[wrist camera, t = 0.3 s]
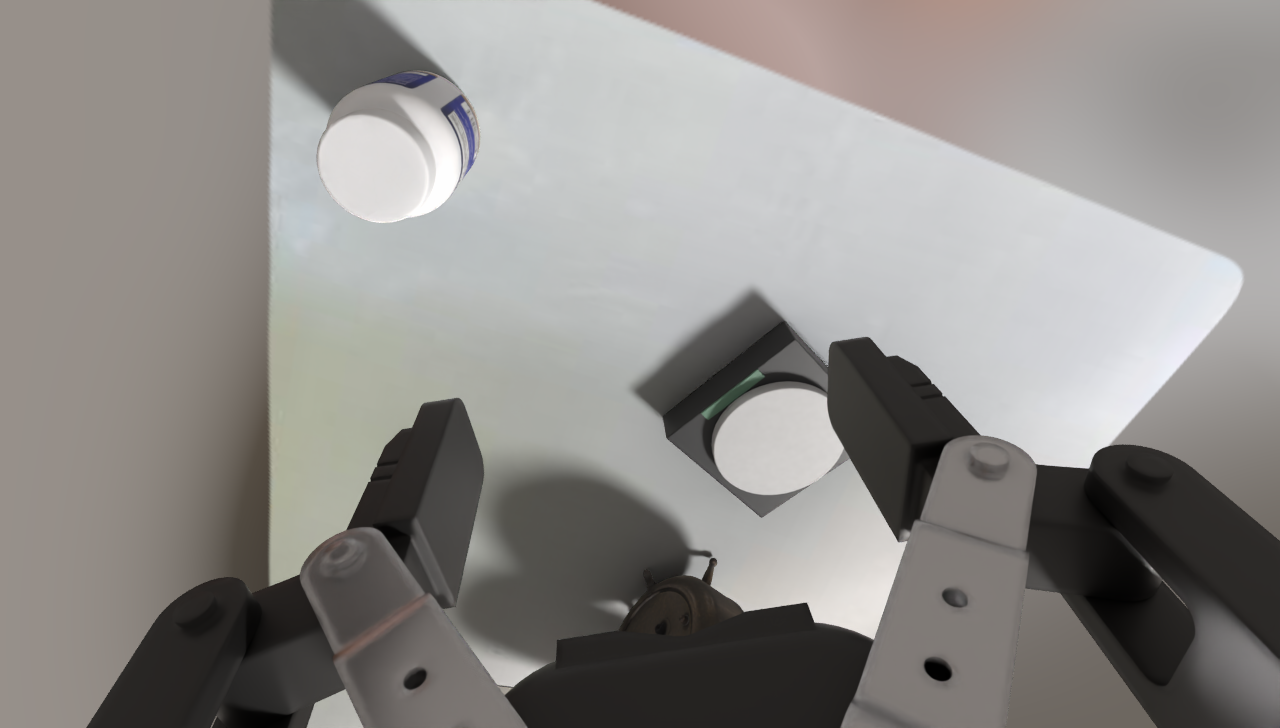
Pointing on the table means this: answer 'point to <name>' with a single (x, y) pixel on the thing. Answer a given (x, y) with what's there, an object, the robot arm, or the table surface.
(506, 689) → the grey flat tray
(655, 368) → the table surface
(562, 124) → the table surface
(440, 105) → the pill bottle
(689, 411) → the scale
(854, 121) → the table surface
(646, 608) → the alarm clock
